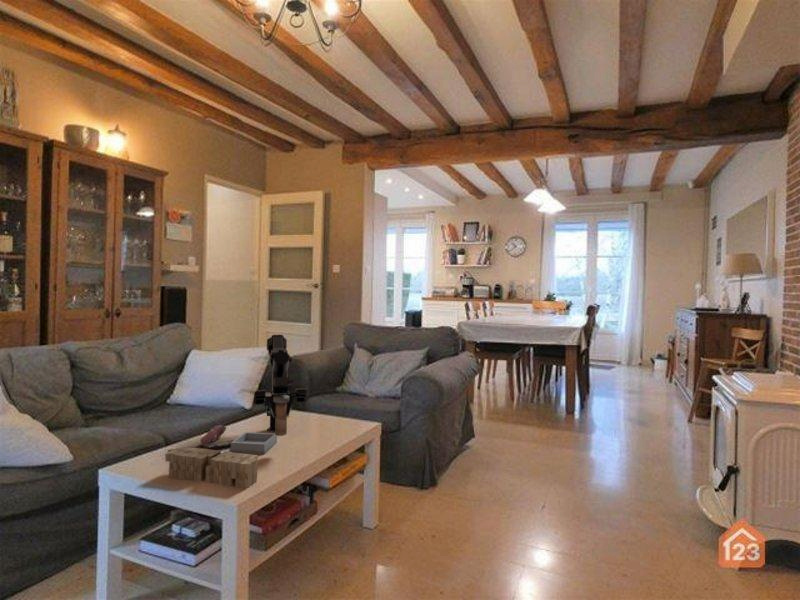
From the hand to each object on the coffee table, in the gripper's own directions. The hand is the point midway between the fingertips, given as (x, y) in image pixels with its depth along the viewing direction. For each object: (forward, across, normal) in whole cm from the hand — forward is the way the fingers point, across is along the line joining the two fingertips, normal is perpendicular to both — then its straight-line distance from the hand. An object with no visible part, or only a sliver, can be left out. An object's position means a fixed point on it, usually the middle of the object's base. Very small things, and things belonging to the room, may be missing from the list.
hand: (281, 416), depth 172 cm
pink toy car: (-6, -24, +26) cm, 36 cm away
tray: (+3, -9, +17) cm, 19 cm away
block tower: (+22, -21, -2) cm, 30 cm away
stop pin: (+4, 0, +6) cm, 7 cm away
